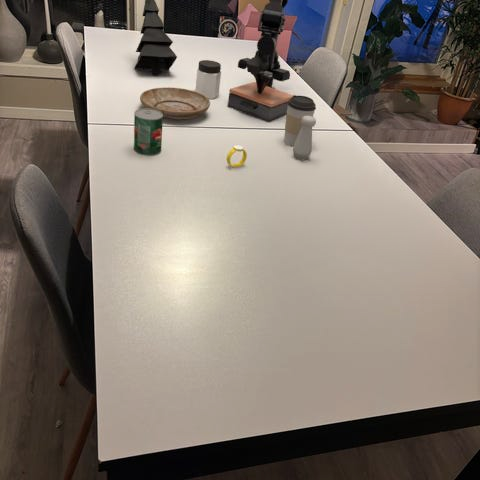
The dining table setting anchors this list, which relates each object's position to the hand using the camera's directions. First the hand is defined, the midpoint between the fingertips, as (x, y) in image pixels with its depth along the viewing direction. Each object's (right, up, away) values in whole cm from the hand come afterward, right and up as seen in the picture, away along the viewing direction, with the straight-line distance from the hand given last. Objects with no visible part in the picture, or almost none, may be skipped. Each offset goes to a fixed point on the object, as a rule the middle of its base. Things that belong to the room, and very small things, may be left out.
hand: (259, 93), depth 181 cm
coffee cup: (+10, -21, -16) cm, 28 cm away
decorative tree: (-44, +18, +28) cm, 55 cm away
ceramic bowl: (-30, -9, -8) cm, 32 cm away
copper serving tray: (+1, 0, +2) cm, 2 cm away
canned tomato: (-34, -27, -35) cm, 55 cm away
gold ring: (-8, -31, -36) cm, 48 cm away
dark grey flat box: (0, -4, +5) cm, 7 cm away
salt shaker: (+12, -27, -25) cm, 39 cm away
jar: (-20, +2, +10) cm, 22 cm away
